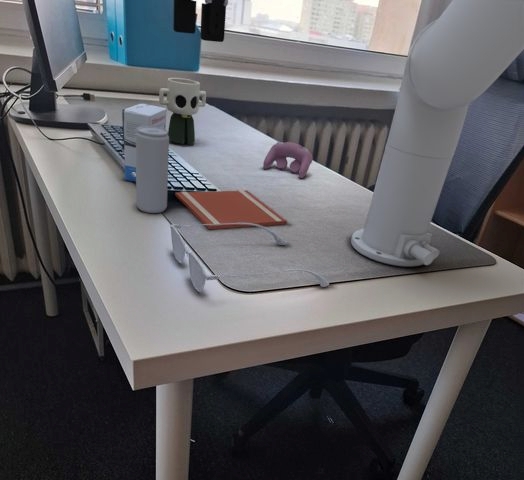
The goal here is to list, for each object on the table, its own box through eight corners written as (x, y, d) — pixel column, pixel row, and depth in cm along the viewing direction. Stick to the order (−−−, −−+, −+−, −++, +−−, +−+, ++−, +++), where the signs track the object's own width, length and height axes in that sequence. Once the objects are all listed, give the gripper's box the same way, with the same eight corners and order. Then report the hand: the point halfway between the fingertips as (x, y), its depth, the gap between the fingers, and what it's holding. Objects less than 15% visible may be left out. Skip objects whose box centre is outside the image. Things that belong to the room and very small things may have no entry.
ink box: (149, 185, 92) (150, 114, 85) (123, 180, 92) (122, 109, 85) (166, 173, 99) (167, 107, 92) (141, 168, 99) (141, 102, 92)
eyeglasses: (167, 247, 71) (168, 220, 69) (282, 242, 78) (286, 217, 76) (203, 303, 60) (205, 272, 58) (332, 290, 67) (339, 262, 65)
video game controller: (307, 183, 111) (317, 151, 110) (302, 177, 107) (313, 144, 106) (266, 172, 114) (276, 140, 113) (260, 166, 110) (270, 133, 109)
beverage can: (130, 205, 82) (129, 126, 76) (157, 202, 85) (158, 125, 78) (146, 216, 80) (146, 135, 73) (172, 212, 82) (175, 133, 76)
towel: (286, 224, 85) (287, 220, 85) (208, 229, 79) (209, 225, 78) (246, 193, 95) (247, 189, 95) (175, 195, 89) (175, 191, 89)
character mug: (163, 146, 114) (165, 82, 107) (153, 137, 119) (154, 75, 112) (208, 147, 119) (213, 85, 112) (197, 139, 124) (201, 79, 117)
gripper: (265, -130, 57) (250, 47, 67) (203, -116, 69) (198, 32, 79) (204, -147, 54) (196, 42, 63) (149, -130, 66) (150, 27, 75)
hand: (197, 36), depth 71 cm, fingers open, 9 cm apart
